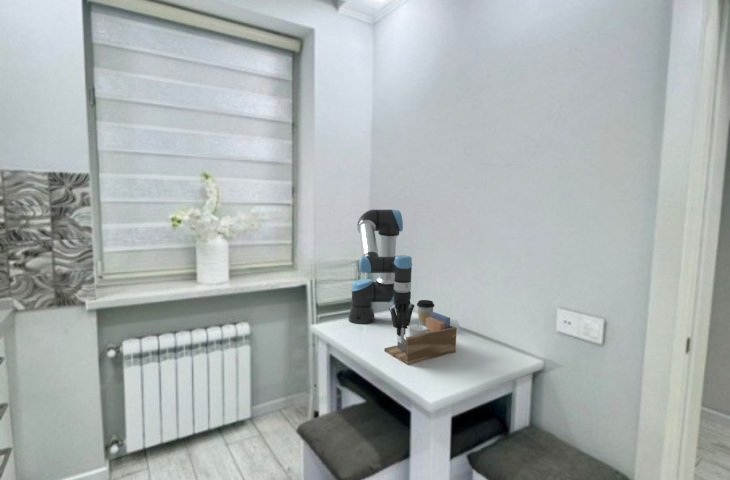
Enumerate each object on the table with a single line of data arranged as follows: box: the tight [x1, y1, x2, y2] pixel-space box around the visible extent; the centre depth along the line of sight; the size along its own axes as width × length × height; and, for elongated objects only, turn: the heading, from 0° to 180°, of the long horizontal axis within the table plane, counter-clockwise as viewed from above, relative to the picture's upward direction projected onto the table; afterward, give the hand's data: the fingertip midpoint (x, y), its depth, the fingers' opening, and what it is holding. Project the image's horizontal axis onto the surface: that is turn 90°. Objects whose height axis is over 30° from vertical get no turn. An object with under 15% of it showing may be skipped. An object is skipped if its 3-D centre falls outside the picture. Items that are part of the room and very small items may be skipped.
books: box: [426, 311, 451, 333], centre depth 183 cm, size 11×6×14 cm, turn 32°
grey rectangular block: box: [396, 338, 406, 352], centre depth 175 cm, size 9×3×4 cm, turn 32°
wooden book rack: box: [383, 324, 457, 366], centre depth 178 cm, size 17×28×12 cm, turn 122°
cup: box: [407, 324, 431, 337], centre depth 178 cm, size 8×12×10 cm
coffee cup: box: [416, 299, 435, 327], centre depth 210 cm, size 9×9×15 cm
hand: (400, 341), depth 174 cm, fingers closed
